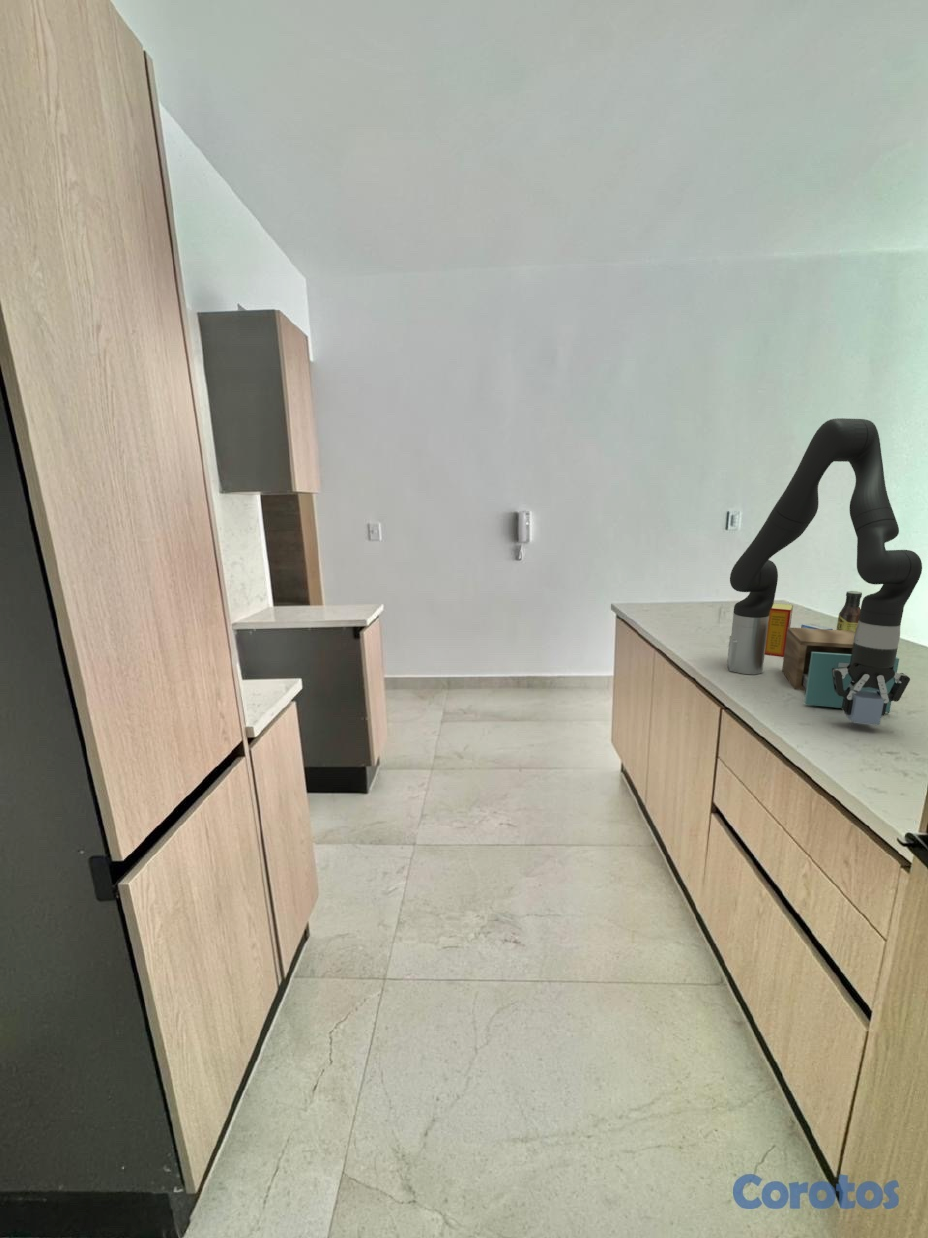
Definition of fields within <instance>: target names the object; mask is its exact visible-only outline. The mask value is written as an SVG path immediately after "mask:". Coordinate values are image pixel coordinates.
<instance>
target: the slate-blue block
mask: <svg viewBox="0 0 928 1238" xmlns="http://www.w3.org/2000/svg"><path fill="white" fill-rule="evenodd" d="M852 700H853V705H852V710H851V715H846V713H845V712H844V711H843V713H844V714H845V716H846V717H847V718H848V719H849V721H850V722H851V723H857V724H864V725H865V724H866V725H875V726H876V725H877V726H880V724H881V719H882V717H881V715H882V709H883V704H884V699H883V698H882V697H880V695H879V694H877V692H875V691H867V690H860V691H859V692H857V693H856V695H854V698H853V699H852Z"/></svg>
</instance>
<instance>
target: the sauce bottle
mask: <svg viewBox="0 0 928 1238" xmlns="http://www.w3.org/2000/svg"><path fill="white" fill-rule="evenodd" d="M845 596H846V597H845V603H844V605H843V607H842V609H841V610H840V612H839V613H838V617H837V623H836V629H835V630H846V631H854V632H855V631H856V627H857V625H858V621H859V616H860V610H861V604H860V603H861V599H862V596H863V593H862V591H858V590H849V591H846V594H845Z"/></svg>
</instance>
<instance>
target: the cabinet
mask: <svg viewBox="0 0 928 1238" xmlns="http://www.w3.org/2000/svg"><path fill="white" fill-rule="evenodd" d="M854 635H855V632H854V631H846V630H836V629H833V630H827V629H808V628H801V627H790V628H789V627H788V628H787V636H786V643H785V651H784V657H783V660H782V668H781V672H782V674H783V675H784V676H785V677H786V679H787V680H788V682H789V683H790V684H791V687H793V689H794V690H801V691H806V688H805V687H804V686H803V684H802V677H803V674H809V666H810V659H811V652H824V653H840V654H852V648H853V642H854V639H853V638H854Z"/></svg>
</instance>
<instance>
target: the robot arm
mask: <svg viewBox="0 0 928 1238" xmlns="http://www.w3.org/2000/svg"><path fill="white" fill-rule="evenodd" d="M879 435H880V434H879V430H878V429H877V426H876V424H875V423H874V422H872V420H868V419H865V418H843V417H842V418H832V419H828V420H826V421H824V423H822V424H821V426H820V427H818V429H817V430H816V432H815V433H814V435H813V437H812V438H811V439H810V442H809V444H808V446H807V448H806V451H804V454H803V455H802V458H801V460H800V461H799V464H798V466H797V468H796V470H795V472H794V474H793V476H792V477H791V480H790V481H789V483H788V485H787V486H786V488H785V489H784V491H783V493H782V494H781V496H780V497H779V499H778V500H777V502H776V503H775V505H774V506H773V508H772V509H771V511H770V512H769V514H768V516H767V518H766V520H765V522H764V523H763V524H762V526H761V528H760V529H759V531H758V533H757V534H756V536H755V537H754V539H753V540H752V541H751V543H750V544H749V545H748V547H746V549H745V551H744V552H743V553H742V555H741V556H740V557H739V559H738V560H737V561H736V562H735V563H734V565H733V566H732V569H731V572H730V575H729V583H730V586H731V588H732V589H733V590H734V591H736V592H740V593H748V595H747V596H746V597H745V598H743V599H742V600H740V601H737V602H736V603H734V605H733V613H732V622H731V624H732V625H731V632H730V633H731V634H730V635H729V641H728V650H727V651H728V652H727V660H726V666H727V668H728V671H729V672H734V673H739V674H744V675H760V674H762V673H763V671H764V667H765V666H764V665H765V663H764V662H765V657H766V655H765V647H766V639H767V630H768V621H769V614H770V610H771V608H772V606H773V604H774V603H775V597H776V592H777V586H778V580H779V579H778V578H779V572H778V567H777V565H776V564H775V563H774V561H772V560H770V559H771V558H772V557H773V556H775V555H776V554H777V553H778V552H780V551H782V550H783V549H785V548H786V547H788V546H789V545H790V544H792V543H793V542H795V541H796V540H797V539H798V538H799V537H800V536H802V535H803V534H804V532H805V531H806V530H807V528H808V527H809V526H810V524H811V522H813V520H814V519H815V517H816V515H817V513H818V509H819V484H820V481H821V479H822V478H823V476H824V474H825V473H826V471H827V469H828V468H829V467H830V466H831V464H833V462H848V463H849V464H850V466H851V468H852V470H853V472H854V476H855V484H854V489H853V492H852V495H851V499H850V502H849V516H850V519H851V520H850V521H851V523H852V526H853V529H854V532H855V535H856V539H857V540H856V543H857V544H856V570H857V574H858V575H859V576H860V578H861V579H862V580H863V581H864V582H865V583H868V584H870V585H881V587H880V589H879V590H878V591H876V592H874V593H870V594H868V595H866V596H864V597H863V599H862V601H861V604H860V609H861V610H860V616H859V621H858V625H857V627H856V631H855V635H854V638H853V639H854V642H853V648H852V654H851V659H850V664H849V665H848V666H847V668H843V669H837V668H832V677H833V684H834V691H835V692H836V693H837V694H838V695H839V696H842V697H843V702H842V708H841V710H842V711H843V713H844V712H845V713H846V714H845V713H844V714H845V716H846V715H851V710H852V705H853V700H852V699H853V698H854V695H856V693H857V692H859V691H860V689H861V688H862V687H864V688H866V687H871V688H875V689H876V692H877V694H879V695H880V697H882V698H883V699H884V704H883V709H882V715H881V718H882V717H884V716H885V715H886V712H885V711H886V707H887V703H888V702H890V701H892V702H899V701H900V699H901V698H902V697H903V694H904V692H905V691H906V688H907V687H908V685H909V683H910V681H911V678H910V677H909V676H908V675H907V674H905V673H903V672H900V673H899V672H897V673H896V672H895V671H894V665H895V660H896V657H897V654H898V650H899V649H898V648H899V643H900V638H901V623H902V618H903V614H904V609H905V606H906V604H907V603H908V600H909V599H910V597H911V596H912V594H913V592H914V589H915V588H916V586H917V584H918V582H919V581H920V578H921V575H922V571H923V563H922V559H921V557H920V555H918V554H917V553H916V552H915V551H913V550H910V549H893V550H892V549H886V543H889V542H891V541H892V540H894V539H896V538H897V537H898V535H899V534H900V529H899V525H898V522H897V518H896V516H895V513H894V510H893V507H892V505H891V502H890V500H889V496H888V491H887V487H886V480H885V472H884V465H883V463H884V462H883V457H882V447H881V439H880V436H879ZM847 673H848V674H849V675H850V677H851V680H850V681H849V683H848V686H847V688H846V689H845V690H844V688H843V681H842V679H844V678H845V675H846V674H847ZM893 677H894V679H893V680H894V684H893V686H892V688H891V690H890V692H889V694H887V693H888V692H887V688H886V685H885V684H886V683H887V682H888V681H889V680H891V679H892V678H893Z"/></svg>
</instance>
